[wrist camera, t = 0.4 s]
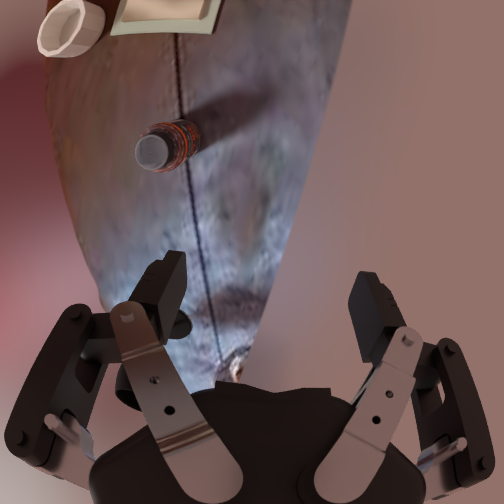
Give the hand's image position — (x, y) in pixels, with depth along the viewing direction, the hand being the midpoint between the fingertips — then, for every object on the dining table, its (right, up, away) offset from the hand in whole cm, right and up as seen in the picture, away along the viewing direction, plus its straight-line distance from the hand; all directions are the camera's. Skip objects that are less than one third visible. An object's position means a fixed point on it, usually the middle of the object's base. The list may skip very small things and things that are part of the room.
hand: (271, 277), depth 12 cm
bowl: (-28, +37, +12) cm, 48 cm away
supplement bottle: (-11, +17, +23) cm, 31 cm away
